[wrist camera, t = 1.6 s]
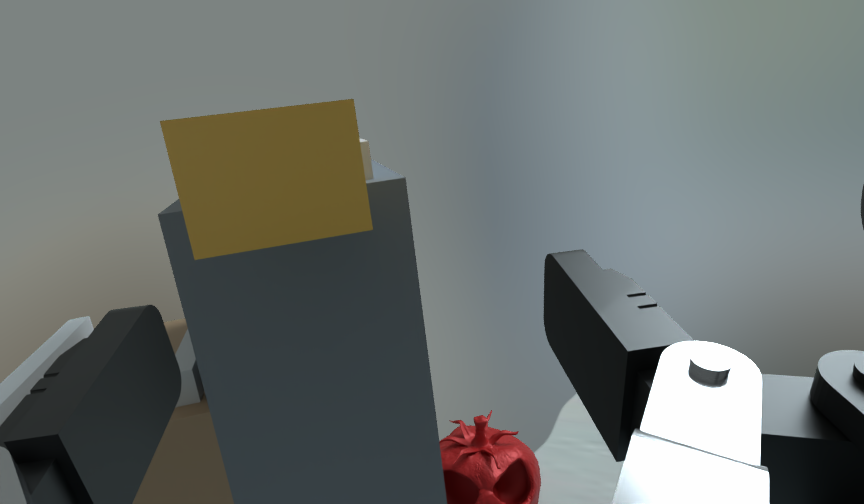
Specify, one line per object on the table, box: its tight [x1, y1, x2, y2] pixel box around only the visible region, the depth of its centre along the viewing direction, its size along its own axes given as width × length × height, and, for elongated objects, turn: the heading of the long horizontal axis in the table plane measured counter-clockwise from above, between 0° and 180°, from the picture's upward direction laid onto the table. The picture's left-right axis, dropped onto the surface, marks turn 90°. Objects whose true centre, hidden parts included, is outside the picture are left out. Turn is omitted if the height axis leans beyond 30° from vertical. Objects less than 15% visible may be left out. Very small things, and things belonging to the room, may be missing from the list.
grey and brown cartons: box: [0, 138, 447, 504], centre depth 28 cm, size 12×18×34 cm, turn 105°
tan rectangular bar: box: [160, 99, 373, 260], centre depth 21 cm, size 19×4×3 cm, turn 15°
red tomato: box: [439, 410, 541, 504], centre depth 45 cm, size 10×10×9 cm
